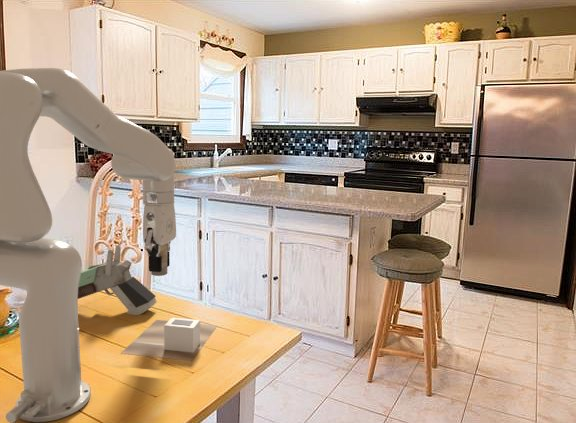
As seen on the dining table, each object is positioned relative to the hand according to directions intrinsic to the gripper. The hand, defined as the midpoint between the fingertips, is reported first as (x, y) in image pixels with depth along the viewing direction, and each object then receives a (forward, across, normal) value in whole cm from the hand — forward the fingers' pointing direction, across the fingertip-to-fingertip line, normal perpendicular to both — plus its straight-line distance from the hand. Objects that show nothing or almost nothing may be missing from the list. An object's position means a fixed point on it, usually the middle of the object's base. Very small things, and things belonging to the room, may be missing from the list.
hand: (159, 268), depth 113 cm
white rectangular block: (+16, -10, -10) cm, 21 cm away
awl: (+1, 0, 0) cm, 1 cm away
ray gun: (+17, +7, +23) cm, 29 cm away
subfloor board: (+17, -6, -6) cm, 19 cm away
